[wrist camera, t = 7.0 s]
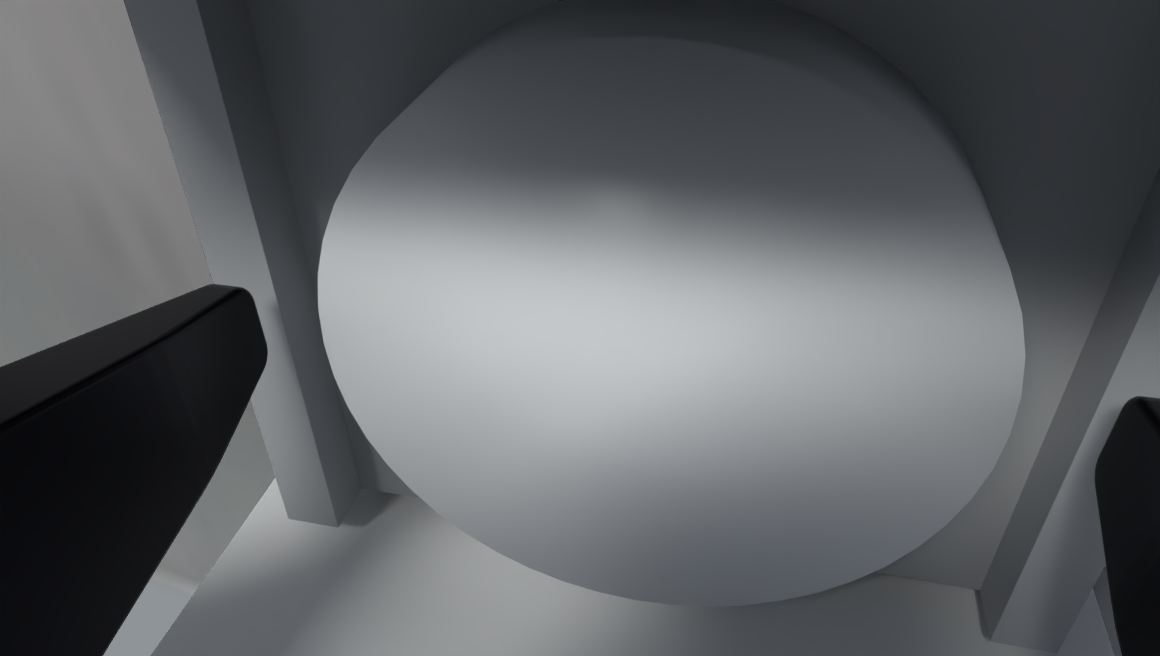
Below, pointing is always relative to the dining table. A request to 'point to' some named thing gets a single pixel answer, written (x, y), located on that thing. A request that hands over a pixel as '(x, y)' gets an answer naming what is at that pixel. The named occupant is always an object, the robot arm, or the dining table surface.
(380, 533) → the grey boxy piece
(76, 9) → the dining table surface
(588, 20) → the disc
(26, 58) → the dining table surface
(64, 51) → the dining table surface
